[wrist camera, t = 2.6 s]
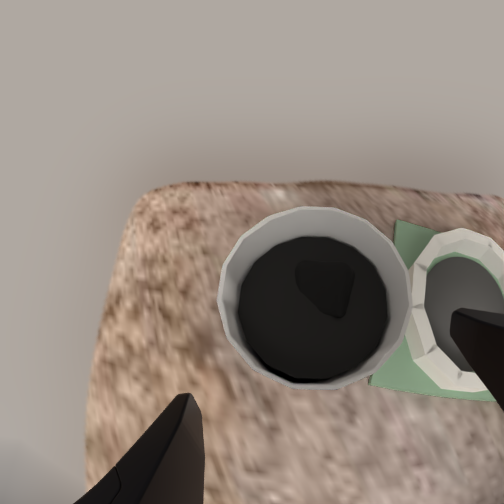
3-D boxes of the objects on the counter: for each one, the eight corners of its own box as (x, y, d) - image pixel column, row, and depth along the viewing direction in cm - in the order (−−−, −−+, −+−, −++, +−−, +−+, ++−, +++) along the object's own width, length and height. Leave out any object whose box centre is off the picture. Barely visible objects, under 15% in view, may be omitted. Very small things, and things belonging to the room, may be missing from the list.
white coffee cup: (267, 288, 20) (251, 192, 11) (359, 308, 18) (414, 225, 10) (238, 379, 17) (187, 357, 8) (338, 404, 15) (396, 407, 7)
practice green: (550, 277, 16) (564, 266, 13) (549, 401, 10) (567, 396, 8) (394, 223, 21) (404, 203, 19) (367, 384, 16) (380, 381, 13)
